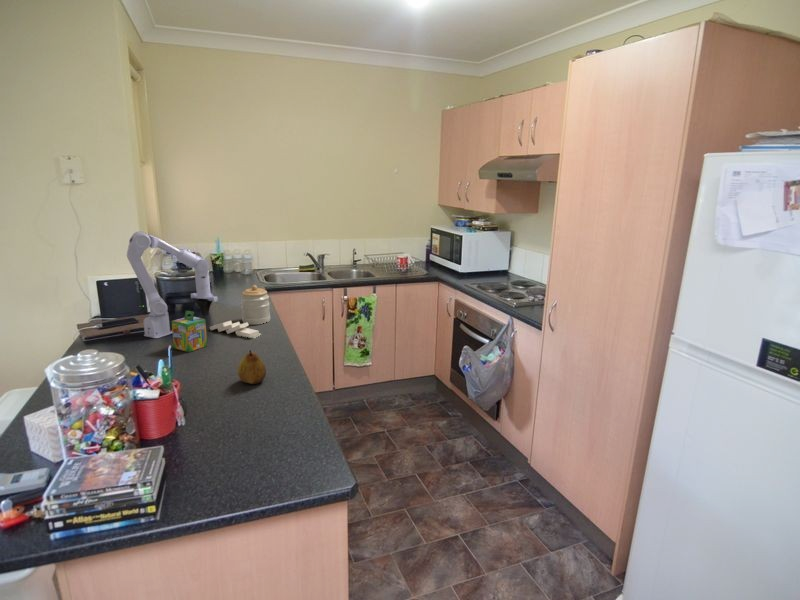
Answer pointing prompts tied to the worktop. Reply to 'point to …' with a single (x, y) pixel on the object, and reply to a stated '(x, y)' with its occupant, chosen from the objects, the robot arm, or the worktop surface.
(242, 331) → the domino
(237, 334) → the domino
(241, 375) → the fruit
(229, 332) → the domino
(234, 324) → the domino
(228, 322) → the domino
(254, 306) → the jar
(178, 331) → the chalk box
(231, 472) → the worktop surface
